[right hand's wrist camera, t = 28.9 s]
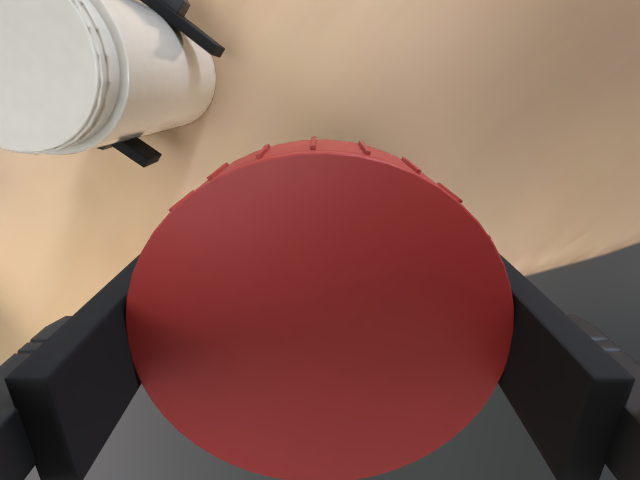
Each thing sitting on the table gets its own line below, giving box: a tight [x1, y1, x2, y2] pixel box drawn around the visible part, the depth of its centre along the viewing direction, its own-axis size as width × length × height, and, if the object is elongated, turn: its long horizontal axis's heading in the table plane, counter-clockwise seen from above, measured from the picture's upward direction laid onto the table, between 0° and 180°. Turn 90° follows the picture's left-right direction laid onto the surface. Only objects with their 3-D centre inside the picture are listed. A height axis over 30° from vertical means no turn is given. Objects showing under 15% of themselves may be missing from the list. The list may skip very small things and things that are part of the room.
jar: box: [0, 0, 216, 155], centre depth 26 cm, size 9×9×19 cm
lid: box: [126, 137, 514, 480], centre depth 11 cm, size 10×10×2 cm
